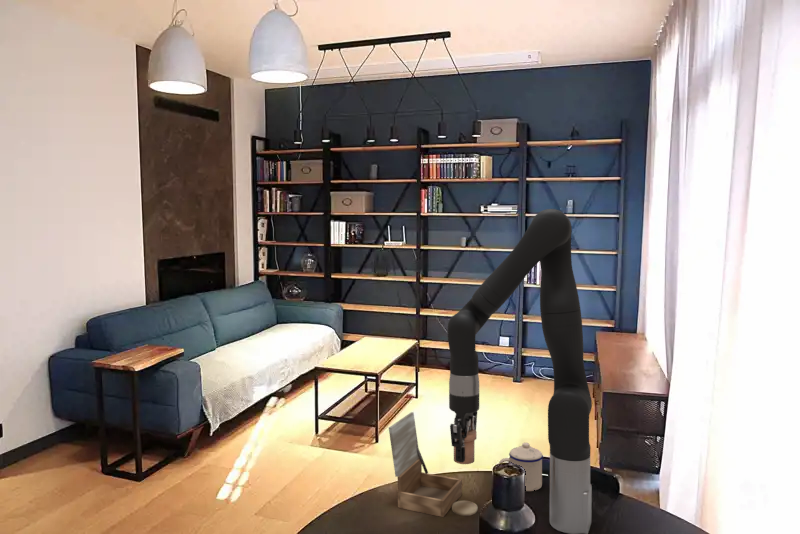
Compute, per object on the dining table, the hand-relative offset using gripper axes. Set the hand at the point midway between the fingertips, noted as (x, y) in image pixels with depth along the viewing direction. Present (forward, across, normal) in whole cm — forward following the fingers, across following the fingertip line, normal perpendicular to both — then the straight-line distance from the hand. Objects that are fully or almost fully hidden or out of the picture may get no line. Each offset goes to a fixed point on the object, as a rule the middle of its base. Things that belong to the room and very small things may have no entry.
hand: (464, 456), depth 146 cm
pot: (+1, 0, 0) cm, 1 cm away
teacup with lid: (+14, +20, -9) cm, 26 cm away
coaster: (+14, 0, 0) cm, 14 cm away
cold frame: (+14, +1, +11) cm, 17 cm away
